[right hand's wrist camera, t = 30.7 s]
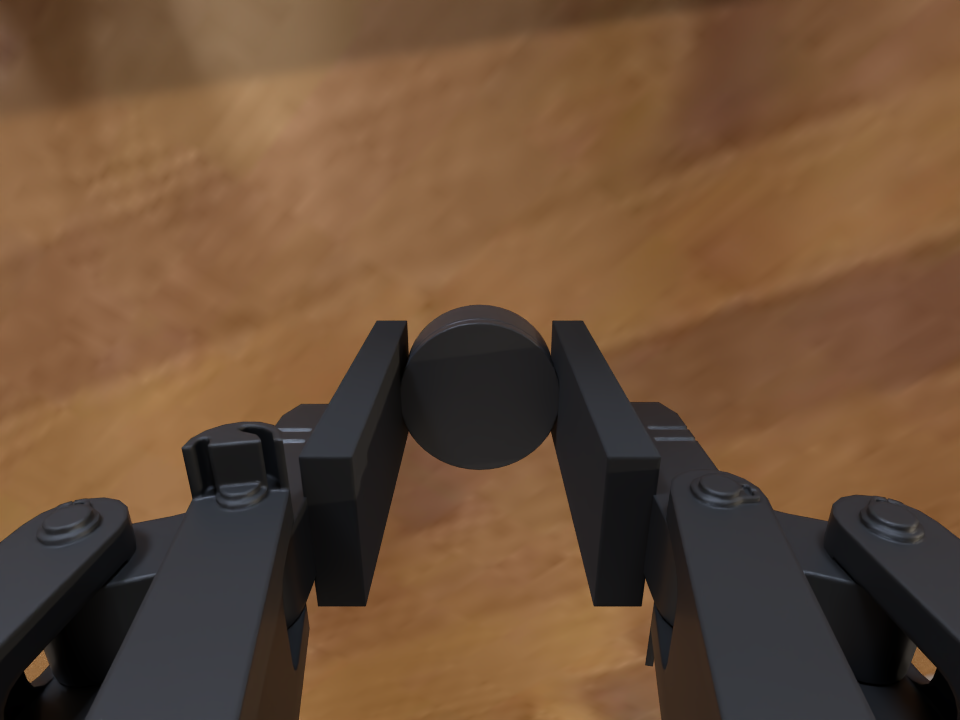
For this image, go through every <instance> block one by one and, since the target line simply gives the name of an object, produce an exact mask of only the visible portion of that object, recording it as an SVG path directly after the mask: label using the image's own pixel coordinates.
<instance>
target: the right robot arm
mask: <svg viewBox="0 0 960 720" xmlns="http://www.w3.org/2000/svg"><path fill="white" fill-rule="evenodd" d="M408 356H409V350H408V329H407V321H376V323H375V325H374V326H373V328H372V330H371V332H370V333H369V335H368V337H367V339H366V340H365V342H364V344H363V346H362V347H361V349H360V351H359V352H358V354H357V356H356V358H355V359H354V361H353V363H352V365H351V366H350V368H349V370H348V372H347V373H346V375H345V377H344V379H343V380H342V382H341V384H340V385H339V387H338V389H337V391H336V392H335V394H334V396H333V398H332V399H331V401H330V403H329V404H300V405H299V406H297V407H296V408H294V409H292V410H291V411H289V412H287V413H286V414H284V415H283V416H282V417H281V418H280V420H279V421H278V423H277V424H276V425H275V426H274V425H271V424H267V423H263V422H238V423H232V424H225V425H221V426H218V427H215V428H212V429H209V430H206V431H204V432H202V433H200V434H198V435H197V436H195V437H193V438H191V439H190V440H189V441H188V442H187V443H186V444H185V445H184V446H183V447H182V452H183V457H184V461H185V466H186V471H187V475H188V480H189V485H190V489H191V494H192V498H193V499H192V501H191V503H190V506H189V508H188V510H187V512H186V513H183V514H179V515H175V516H171V517H165V518H160V519H155V520H150V521H144V522H139V523H134V524H132V522H131V518H130V515H129V511H128V507H127V506H126V505H125V504H123V503H122V502H121V501H120V500H115V499H110V498H91V499H80V500H75V502H72V501H70V502H67V503H64V504H61V505H59V506H57V507H56V508H53V509H51V510H48V511H46V512H44V513H41V514H39V515H38V516H36V517H35V518H33V519H31V520H30V521H28V522H27V523H25V524H23V525H22V526H21V527H19V528H18V529H17V530H16V531H14V532H13V533H12V534H10V535H9V536H8V537H7V538H5V539H4V540H3V541H1V542H0V720H299V713H300V704H301V696H302V687H303V679H304V670H305V662H306V653H307V645H308V637H309V621H308V614H307V607H306V602H307V599H308V596H309V594H310V591H311V588H312V586H313V583H314V580H315V587H316V594H317V602H318V606H366V603H367V599H368V595H369V591H370V587H371V583H372V579H373V575H374V571H375V566H376V562H377V558H378V554H379V550H380V546H381V542H382V538H383V534H384V530H385V526H386V522H387V518H388V513H389V509H390V505H391V501H392V497H393V493H394V489H395V485H396V481H397V477H398V473H399V469H400V465H401V460H402V456H403V452H404V448H405V444H406V440H407V436H408V432H409V431H408V429H407V427H406V425H405V423H404V420H403V418H402V409H401V391H400V381H401V378H402V375H403V371H404V368H405V365H406V362H407V359H408ZM551 358H552V361H553V364H554V367H555V370H556V373H557V376H558V380H559V402H558V416H557V419H556V422H555V424H554V426H553V428H552V430H551V433H552V437H553V442H554V446H555V450H556V454H557V458H558V462H559V466H560V470H561V474H562V478H563V482H564V486H565V491H566V495H567V499H568V503H569V507H570V511H571V515H572V519H573V523H574V527H575V531H576V535H577V539H578V544H579V548H580V552H581V556H582V560H583V564H584V568H585V572H586V576H587V580H588V584H589V588H590V593H591V597H592V601H593V605H594V606H642V599H643V591H644V584H645V579H646V581H647V584H648V586H649V589H650V592H651V594H652V597H653V600H654V607H653V614H652V621H651V628H650V635H649V642H648V649H647V656H646V663H645V665H647V666H653V662H654V661H655V669H656V678H657V686H658V694H659V703H660V711H661V720H960V539H959V538H958V537H956V536H955V535H954V534H952V533H951V532H950V531H949V530H947V529H946V528H945V527H943V526H942V525H941V524H940V523H938V522H937V521H935V520H933V519H932V518H930V517H929V516H927V515H925V514H924V513H922V512H921V511H919V510H916V509H914V508H911V507H909V506H907V505H904V504H903V503H901V502H899V501H896V500H893V499H889V498H888V499H886V498H885V497H879V496H865V495H852V496H847V497H841V498H840V499H839V500H837V501H836V502H835V503H834V504H833V505H832V509H831V513H830V517H829V520H828V521H824V520H818V519H813V518H808V517H803V516H797V515H792V514H787V513H783V512H779V511H775V510H773V509H772V507H771V505H770V502H769V500H768V498H767V497H766V496H765V495H764V494H763V492H762V491H761V490H760V489H759V488H758V487H756V486H755V485H753V484H752V483H750V482H749V481H747V480H746V479H743V478H741V477H738V476H736V475H733V474H730V473H728V472H722V471H719V470H718V469H717V468H716V466H715V465H714V464H713V462H712V461H711V459H710V458H709V457H708V455H707V454H706V452H705V451H704V450H703V448H702V447H701V446H700V444H699V443H698V441H695V437H694V436H693V435H692V433H691V432H690V430H687V426H686V425H685V424H684V422H683V421H682V419H681V418H680V417H679V415H678V414H677V413H675V412H674V411H672V410H671V409H669V408H667V407H666V406H664V405H662V404H661V403H659V402H629V400H628V398H627V397H626V395H625V393H624V391H623V390H622V388H621V386H620V384H619V383H618V381H617V379H616V377H615V376H614V374H613V372H612V371H611V369H610V367H609V365H608V364H607V362H606V360H605V358H604V357H603V355H602V353H601V351H600V350H599V348H598V346H597V344H596V343H595V341H594V339H593V338H592V336H591V334H590V332H589V331H588V329H587V327H586V325H585V324H584V322H583V321H552V342H551ZM916 647H918V648H919V649H920V650H921V651H922V652H923V653H924V655H925V656H926V657H927V658H928V659H929V660H930V661H931V662H932V663H933V664H934V665H935V666H936V667H937V669H936V672H935V674H934V677H933V679H932V680H931V681H929V680H928V679H927V678H926V677H924V676H923V675H922V674H921V673H920V672H919V671H918V670H917V669H916V668H915V666H914V665H913V664H912V663H911V661H912V658H913V655H914V653H915V650H916ZM43 650H44V651H45V654H46V657H47V660H48V662H49V666H48V667H47V668H46V669H45V670H44V672H43V673H42V674H41V675H40V676H39V677H37V678H36V679H35V680H34V681H32V682H31V683H30V682H29V681H28V680H27V678H26V676H25V673H24V670H25V669H26V668H27V667H28V666H29V665H30V664H31V663H32V662H33V660H34V659H35V658H36V657H37V656H38V655H39V654H40V653H41V652H42V651H43Z"/></svg>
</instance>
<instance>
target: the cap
mask: <svg viewBox="0 0 960 720" xmlns="http://www.w3.org/2000/svg"><path fill="white" fill-rule="evenodd" d="M400 391H401V409H402V418H403V420H404V423H405V425H406V427H407V429H408V431H409V432H410V434H411V436H412V437H413V438H414V439H415V441H416V442H417V443H418V444H419V445H420V446H421V447H422V448H423V449H424V450H425V451H427V452H428V453H429V454H431V455H432V456H434V457H435V458H437V459H439V460H440V461H443V462H445V463H447V464H450V465H453V466H456V467H460V468H465V469H474V470H485V469H494V468H500V467H503V466H507V465H510V464H512V463H515V462H517V461H519V460H521V459H522V458H524V457H526V456H527V455H529V454H530V453H532V452H533V451H534V450H535V449H536V448H537V447H538V446H540V445H541V444H542V442H543V441H544V440H545V439H546V437H547V436H548V435H549V433H550V431H551V430H552V428H553V426H554V424H555V422H556V419H557V416H558V402H559V380H558V376H557V373H556V370H555V367H554V364H553V361H552V358H551V355H550V352H549V349H548V347H547V345H546V343H545V341H544V339H543V338H542V336H541V335H540V333H539V332H538V331H537V330H536V329H535V328H534V326H532V325H531V324H530V323H529V322H528V321H527V320H525V319H524V318H522V317H521V316H519V315H517V314H515V313H513V312H511V311H509V310H506V309H503V308H500V307H495V306H490V305H470V306H464V307H460V308H456V309H453V310H450V311H448V312H446V313H444V314H442V315H440V316H439V317H437V318H436V319H434V320H433V321H432V322H431V323H429V324H428V325H427V326H426V327H425V328H424V329H423V330H422V332H421V333H420V334H419V336H418V337H417V339H416V340H415V342H414V344H413V346H412V348H411V350H410V353H409V356H408V359H407V362H406V365H405V368H404V371H403V375H402V378H401V381H400Z"/></svg>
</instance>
